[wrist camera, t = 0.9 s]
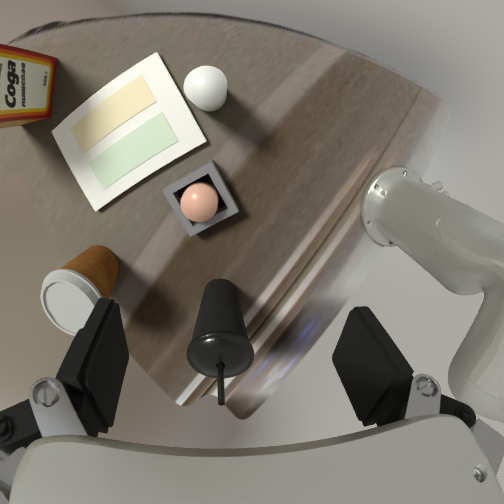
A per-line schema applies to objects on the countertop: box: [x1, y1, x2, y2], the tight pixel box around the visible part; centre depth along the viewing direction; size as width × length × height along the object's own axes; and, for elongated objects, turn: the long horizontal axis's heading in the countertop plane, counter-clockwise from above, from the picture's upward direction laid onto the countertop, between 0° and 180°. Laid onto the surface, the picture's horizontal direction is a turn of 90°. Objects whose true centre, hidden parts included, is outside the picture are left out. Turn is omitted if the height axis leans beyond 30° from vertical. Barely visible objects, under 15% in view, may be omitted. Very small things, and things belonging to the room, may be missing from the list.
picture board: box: [52, 52, 207, 212], centre depth 30 cm, size 18×14×1 cm
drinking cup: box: [187, 279, 254, 405], centre depth 32 cm, size 8×8×20 cm
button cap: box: [180, 182, 218, 222], centre depth 32 cm, size 4×4×2 cm
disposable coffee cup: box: [41, 245, 119, 336], centre depth 32 cm, size 10×10×12 cm
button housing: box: [162, 160, 239, 237], centre depth 34 cm, size 7×7×2 cm
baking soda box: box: [0, 44, 57, 128], centre depth 18 cm, size 10×6×16 cm
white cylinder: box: [184, 66, 227, 112], centre depth 26 cm, size 4×4×9 cm
